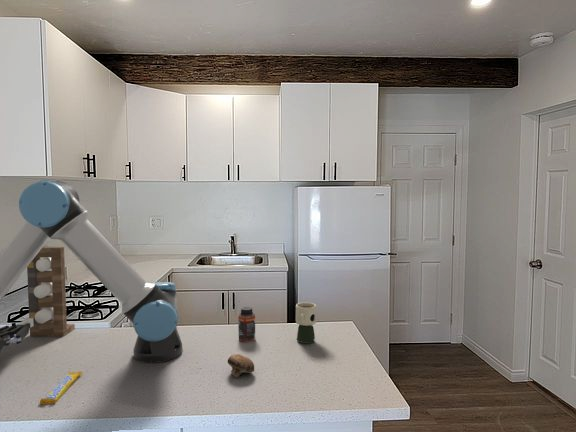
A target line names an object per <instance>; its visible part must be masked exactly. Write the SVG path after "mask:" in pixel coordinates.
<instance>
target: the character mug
mask: <svg viewBox="0 0 576 432" xmlns="http://www.w3.org/2000/svg"><path fill="white" fill-rule="evenodd" d="M295 323H296V324H297V325H298V327H297V332H296V333H297V334H296V340H297V342H299V343H300V342H301V343H303V344H311V343H314V342H315V340H316V338H315V337H316V336H315V329H314V325H315V324H316V323H317V304H315V303H313V302H306V301H305V302H298V303H296V305H295Z"/></svg>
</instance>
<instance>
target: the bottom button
mask: <svg viewBox="0 0 576 432" xmlns="http://www.w3.org/2000/svg"><path fill="white" fill-rule="evenodd" d="M52 318H53V308H44V309H42V310H41V311H39V312H37V313H36V314H35V320H36V321H37V322H38V323H45V322H46V321H48V320H50V319H52Z"/></svg>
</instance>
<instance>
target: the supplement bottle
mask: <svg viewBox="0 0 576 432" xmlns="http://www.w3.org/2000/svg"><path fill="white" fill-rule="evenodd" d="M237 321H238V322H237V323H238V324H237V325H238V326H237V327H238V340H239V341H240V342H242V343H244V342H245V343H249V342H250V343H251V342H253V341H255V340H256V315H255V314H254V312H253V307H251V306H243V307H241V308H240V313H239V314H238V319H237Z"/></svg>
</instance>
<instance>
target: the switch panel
mask: <svg viewBox="0 0 576 432" xmlns="http://www.w3.org/2000/svg"><path fill="white" fill-rule="evenodd" d="M46 257H51V267H52V269H51V270H46V271H43V272H41V271H39V270H38V269H37V268H36V262H37V261H38V260H40V259H41V258H46ZM65 266H66V265H65V247H64V246H43V247H42V249H41V250H40V251H39V252H38V254H37V255H36V256H35V257H34V259H33V260H32V261H31V263H30V264H29V265H28V266H27V268H26V273H27V295H28V296H27V299H28V302H27V303H28V318H33V324H34V326H33V327H31V328H29V337H32V338H33V337H35V338H37V337H41V338H45V337H49V338H50V337H57V338H58V337H63V338H64V337H65V336H67V335H68V334H69V333H71V332H73V331H74V330H76V329H75V328H76V327H75V325H76V324H75V323H68V322H67V318H68V317H67V298H66V297H67V296H66V291H67V289H66V267H65ZM44 283H52V294H53V295H47V296H45V297H43V298H37V297H36V296H35V295H34V289H35V287H37V286H39V285H42V284H44ZM42 308H53V320H48V321H46V322H45V323H38V322H37V321H36V320H35V314H36V313H37V312H39V311H41V310H42Z"/></svg>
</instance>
